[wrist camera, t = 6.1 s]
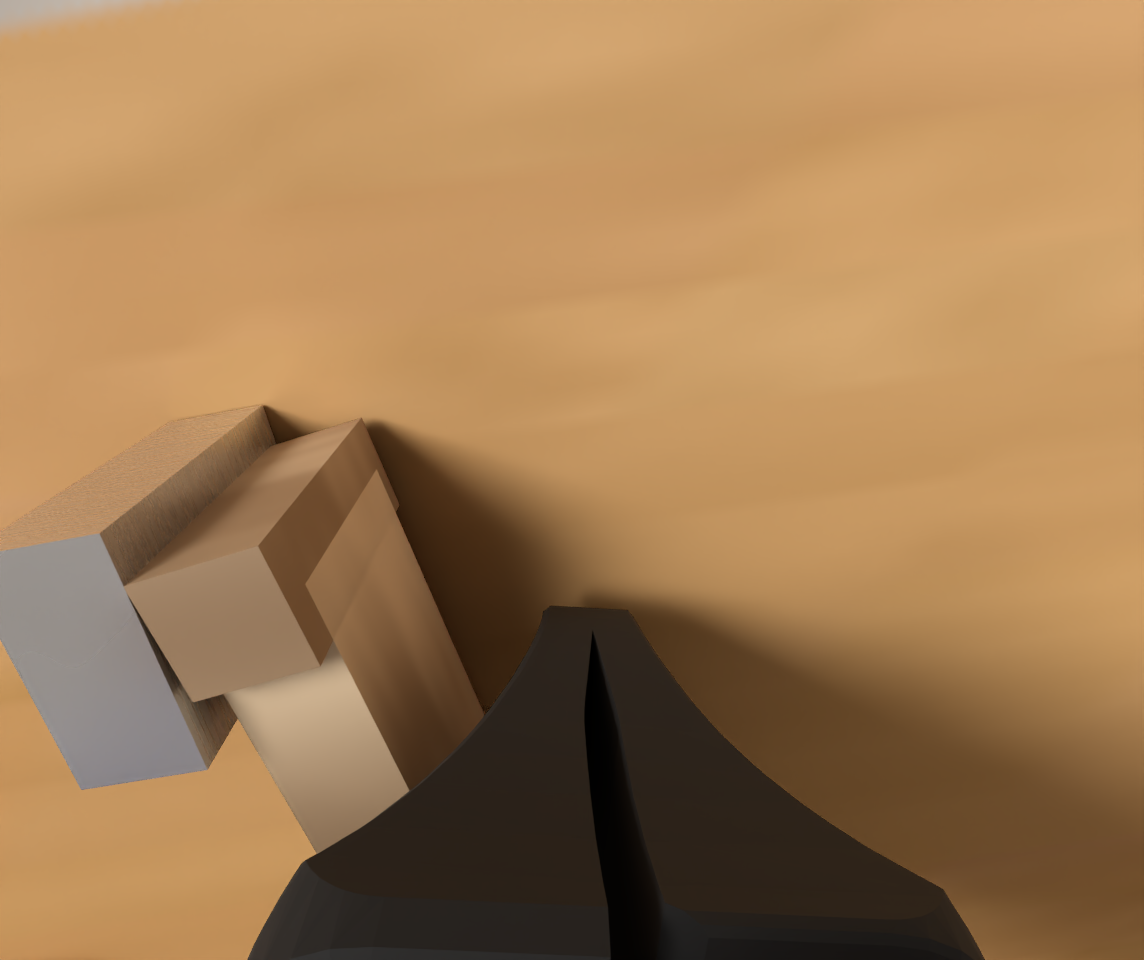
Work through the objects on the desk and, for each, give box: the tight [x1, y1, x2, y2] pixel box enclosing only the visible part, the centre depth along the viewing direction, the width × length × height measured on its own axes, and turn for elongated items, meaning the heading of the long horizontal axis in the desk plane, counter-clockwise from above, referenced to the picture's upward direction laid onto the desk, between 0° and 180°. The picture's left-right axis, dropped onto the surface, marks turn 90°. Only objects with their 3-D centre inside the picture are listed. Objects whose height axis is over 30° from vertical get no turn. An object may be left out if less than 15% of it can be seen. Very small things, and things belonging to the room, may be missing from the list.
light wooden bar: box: [124, 418, 485, 854], centre depth 11 cm, size 8×2×4 cm, turn 18°
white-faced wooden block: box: [0, 405, 276, 790], centre depth 10 cm, size 2×3×4 cm, turn 11°
